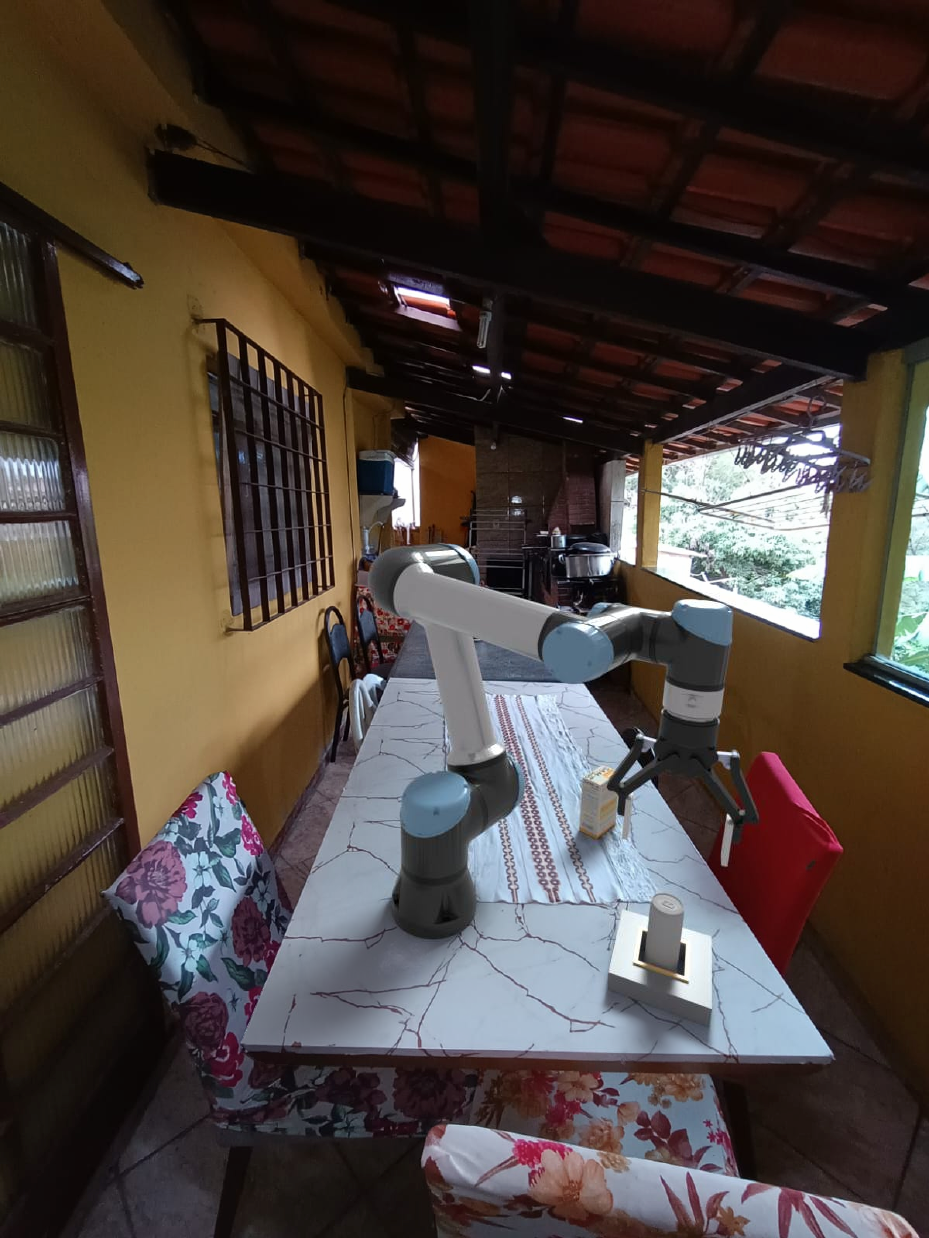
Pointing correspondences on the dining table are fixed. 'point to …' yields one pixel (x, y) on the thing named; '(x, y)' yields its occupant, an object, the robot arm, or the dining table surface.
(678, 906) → the beverage can
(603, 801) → the supplement box
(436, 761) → the dining table surface
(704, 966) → the socket plate
